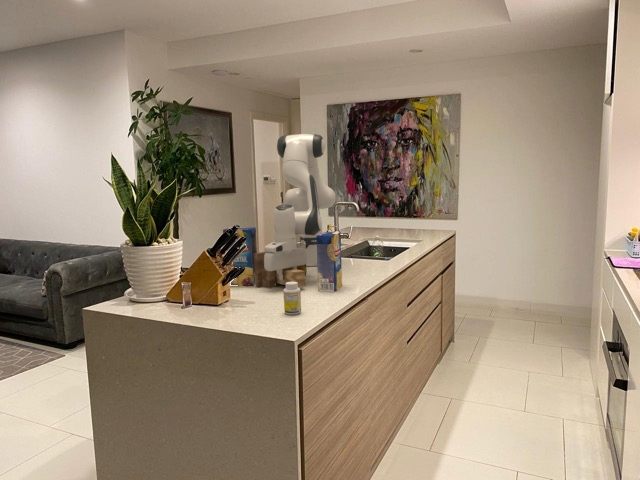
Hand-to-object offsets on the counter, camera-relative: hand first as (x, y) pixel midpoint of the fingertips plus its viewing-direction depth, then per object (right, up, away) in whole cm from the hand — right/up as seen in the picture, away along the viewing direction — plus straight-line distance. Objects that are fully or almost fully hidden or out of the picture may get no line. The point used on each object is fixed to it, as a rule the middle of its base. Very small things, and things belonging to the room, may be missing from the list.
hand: (287, 278), depth 201 cm
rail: (+1, -2, 0) cm, 2 cm away
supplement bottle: (+4, -9, -38) cm, 39 cm away
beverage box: (+18, -4, -4) cm, 18 cm away
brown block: (-5, -3, +6) cm, 9 cm away
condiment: (+4, -1, +21) cm, 22 cm away
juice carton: (-20, -3, +8) cm, 21 cm away
